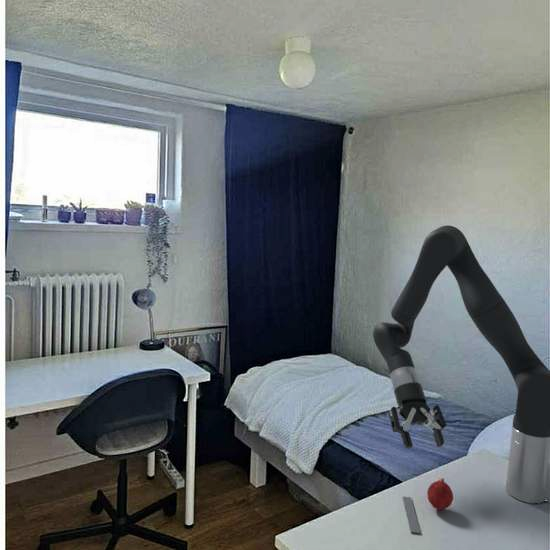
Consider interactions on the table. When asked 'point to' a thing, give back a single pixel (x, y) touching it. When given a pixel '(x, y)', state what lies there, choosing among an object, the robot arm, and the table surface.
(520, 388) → the robot arm
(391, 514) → the table surface
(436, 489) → the onion
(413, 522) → the flat gray rectangular bar
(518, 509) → the table surface
